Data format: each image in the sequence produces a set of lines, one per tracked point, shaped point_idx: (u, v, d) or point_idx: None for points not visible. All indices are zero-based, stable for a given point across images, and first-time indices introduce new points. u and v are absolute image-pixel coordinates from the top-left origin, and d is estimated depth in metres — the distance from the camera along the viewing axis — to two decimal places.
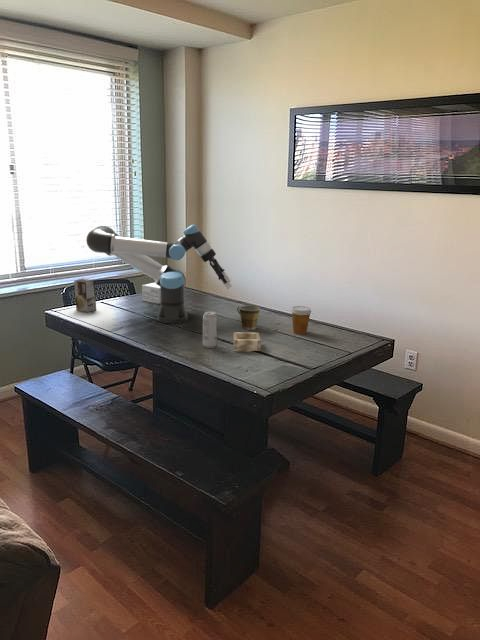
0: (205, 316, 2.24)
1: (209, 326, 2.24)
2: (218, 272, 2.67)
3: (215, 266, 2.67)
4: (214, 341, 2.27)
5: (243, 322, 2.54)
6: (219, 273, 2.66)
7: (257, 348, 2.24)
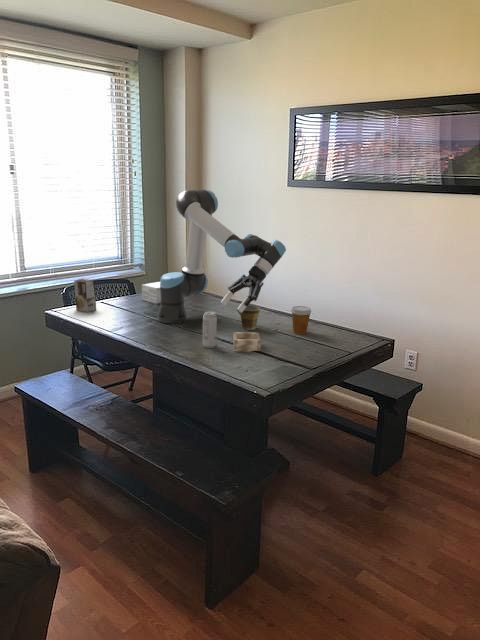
0: (205, 316, 2.24)
1: (209, 326, 2.24)
2: (257, 294, 2.25)
3: (259, 287, 2.27)
4: (214, 341, 2.27)
5: (243, 322, 2.54)
6: (256, 295, 2.25)
7: (257, 348, 2.24)
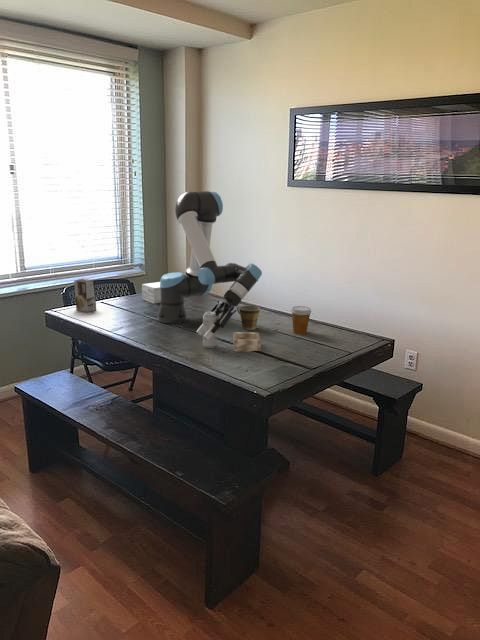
0: (205, 316, 2.24)
1: (209, 326, 2.24)
2: (225, 321, 2.23)
3: (230, 315, 2.24)
4: (214, 341, 2.27)
5: (243, 322, 2.54)
6: (224, 322, 2.23)
7: (257, 348, 2.24)
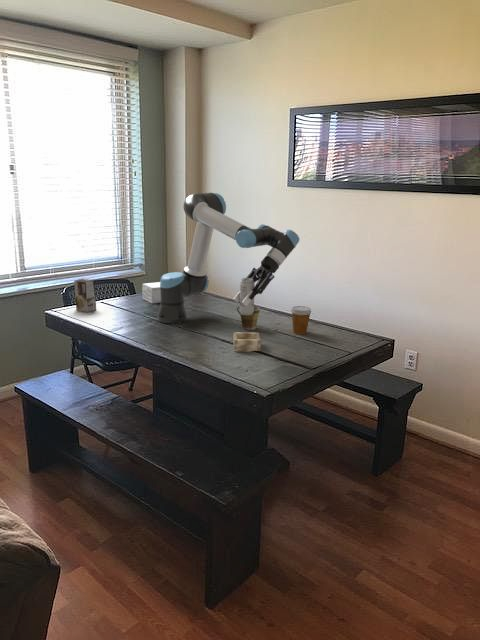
0: (243, 282, 2.20)
1: (247, 293, 2.20)
2: (263, 287, 2.19)
3: (268, 281, 2.20)
4: (252, 308, 2.23)
5: (243, 322, 2.54)
6: (262, 288, 2.19)
7: (257, 348, 2.24)
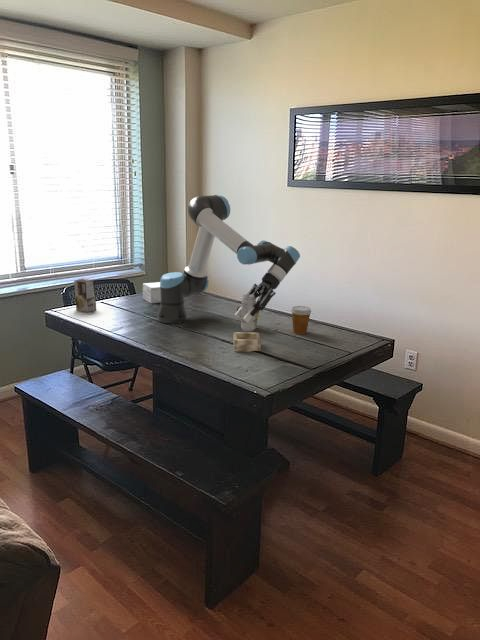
0: (244, 299, 2.21)
1: (248, 309, 2.22)
2: (264, 304, 2.21)
3: (269, 297, 2.21)
4: (253, 324, 2.24)
5: None
6: (263, 305, 2.20)
7: (257, 348, 2.24)
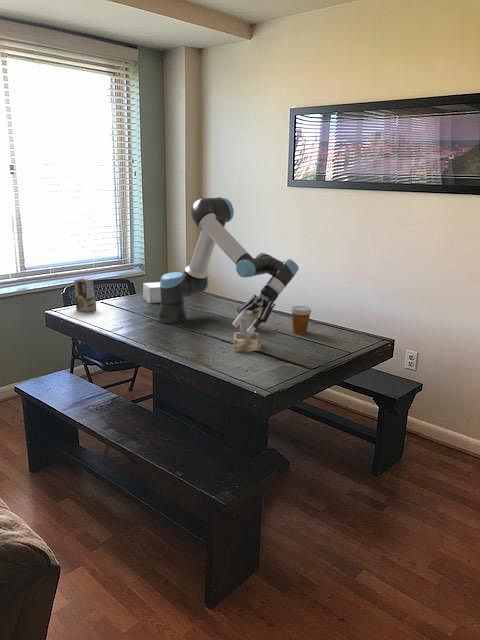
0: (242, 315, 2.24)
1: (246, 325, 2.24)
2: (267, 315, 2.21)
3: (270, 309, 2.23)
4: None
5: None
6: (266, 317, 2.21)
7: (257, 348, 2.24)
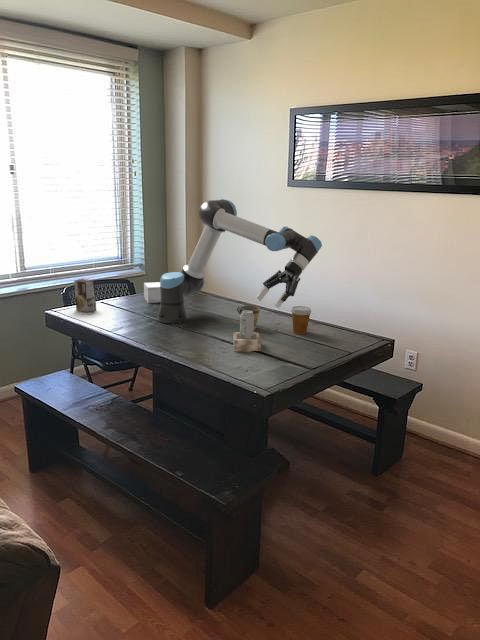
0: (243, 315, 2.24)
1: (247, 325, 2.24)
2: (294, 289, 2.24)
3: (296, 283, 2.26)
4: None
5: None
6: (293, 290, 2.24)
7: (257, 348, 2.24)
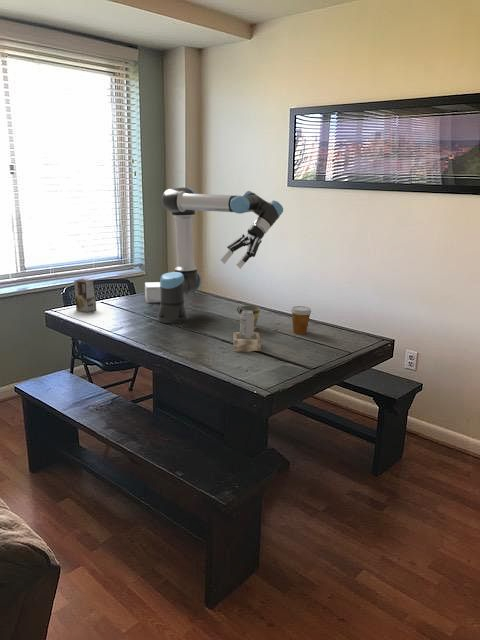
0: (243, 315, 2.24)
1: (247, 325, 2.24)
2: (255, 250, 2.35)
3: (257, 245, 2.37)
4: None
5: None
6: (254, 251, 2.35)
7: (257, 348, 2.24)
